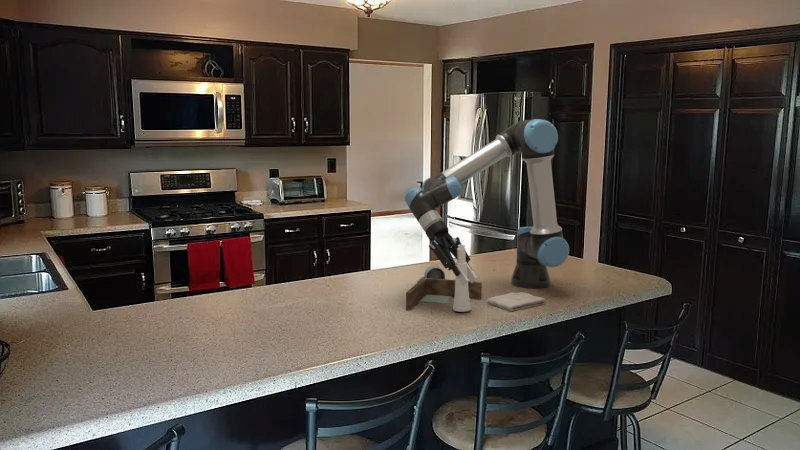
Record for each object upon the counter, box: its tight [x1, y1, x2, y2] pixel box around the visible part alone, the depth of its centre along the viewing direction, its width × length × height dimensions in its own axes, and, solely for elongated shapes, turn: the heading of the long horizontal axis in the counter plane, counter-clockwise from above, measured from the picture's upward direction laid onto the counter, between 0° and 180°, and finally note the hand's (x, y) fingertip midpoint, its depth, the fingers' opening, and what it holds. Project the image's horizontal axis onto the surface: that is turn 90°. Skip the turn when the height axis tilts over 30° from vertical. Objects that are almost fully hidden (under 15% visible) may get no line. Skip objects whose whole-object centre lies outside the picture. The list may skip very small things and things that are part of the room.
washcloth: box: [486, 291, 546, 313], centre depth 215 cm, size 12×18×3 cm, turn 126°
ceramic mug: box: [416, 265, 446, 284], centre depth 241 cm, size 11×8×8 cm
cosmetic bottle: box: [452, 244, 472, 313], centre depth 204 cm, size 6×6×22 cm
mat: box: [418, 294, 453, 305], centre depth 220 cm, size 10×10×1 cm
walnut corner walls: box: [405, 277, 483, 311], centre depth 214 cm, size 22×22×6 cm
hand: (469, 281), depth 201 cm, fingers closed on cosmetic bottle, 4 cm apart
